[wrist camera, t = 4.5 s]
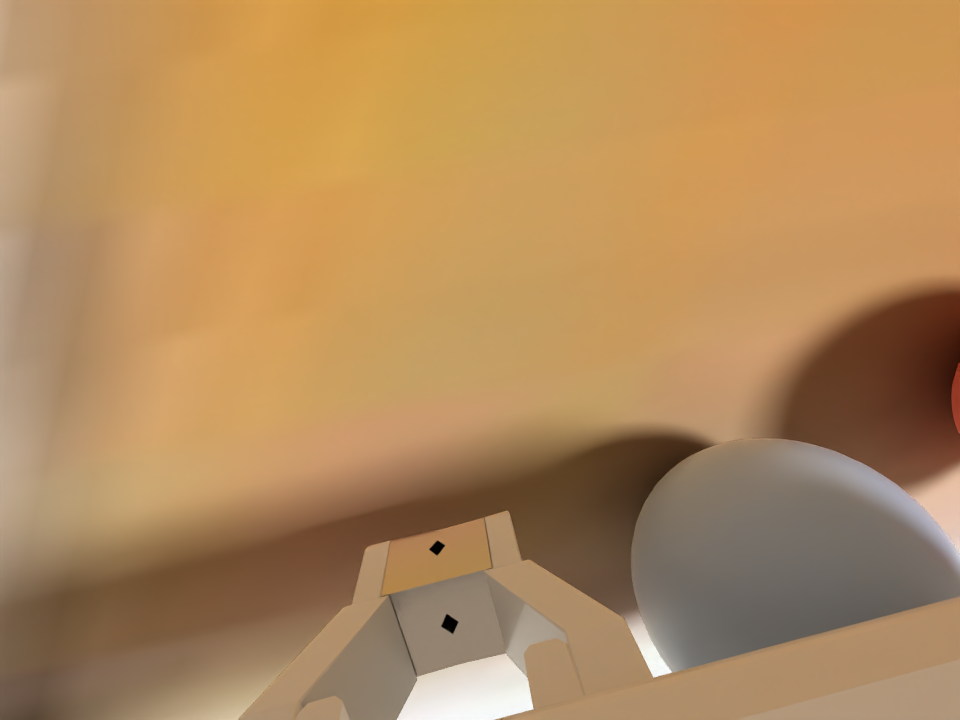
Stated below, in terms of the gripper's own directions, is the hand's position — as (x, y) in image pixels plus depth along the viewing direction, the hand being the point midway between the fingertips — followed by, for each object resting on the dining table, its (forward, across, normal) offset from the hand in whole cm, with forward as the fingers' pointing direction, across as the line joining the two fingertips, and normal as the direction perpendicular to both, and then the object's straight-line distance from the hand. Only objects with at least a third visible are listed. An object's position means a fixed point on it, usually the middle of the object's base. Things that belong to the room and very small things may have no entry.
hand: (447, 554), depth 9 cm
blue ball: (-1, -6, +2) cm, 6 cm away
